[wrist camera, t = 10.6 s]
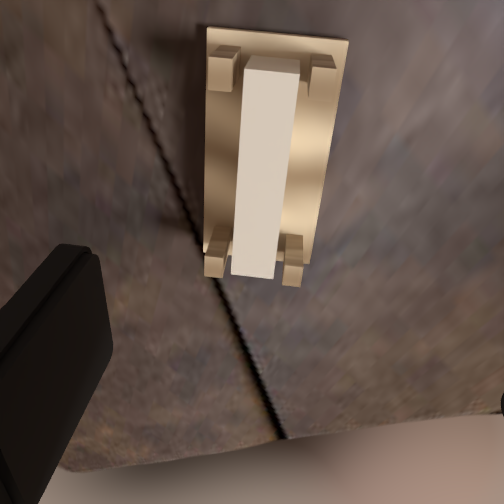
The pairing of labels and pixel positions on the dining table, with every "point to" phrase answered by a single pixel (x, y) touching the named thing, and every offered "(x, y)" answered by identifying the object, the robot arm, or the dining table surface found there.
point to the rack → (302, 142)
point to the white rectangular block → (263, 162)
